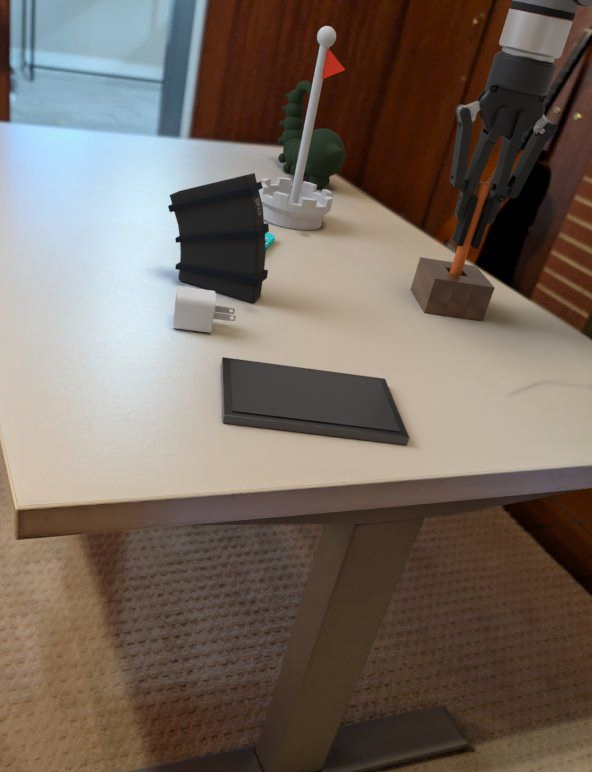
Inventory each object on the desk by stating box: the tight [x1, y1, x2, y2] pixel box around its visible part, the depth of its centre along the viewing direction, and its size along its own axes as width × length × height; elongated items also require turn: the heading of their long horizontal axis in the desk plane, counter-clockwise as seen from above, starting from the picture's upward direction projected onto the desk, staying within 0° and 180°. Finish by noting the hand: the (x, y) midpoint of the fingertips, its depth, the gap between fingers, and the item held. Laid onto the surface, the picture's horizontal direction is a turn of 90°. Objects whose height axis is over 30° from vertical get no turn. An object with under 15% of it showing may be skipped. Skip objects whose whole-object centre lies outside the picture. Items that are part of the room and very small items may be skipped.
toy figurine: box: [277, 80, 346, 189], centre depth 154 cm, size 9×19×25 cm
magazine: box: [167, 172, 270, 303], centre depth 96 cm, size 4×13×15 cm, turn 69°
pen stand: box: [410, 256, 495, 322], centre depth 107 cm, size 9×9×5 cm
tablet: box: [220, 356, 410, 446], centre depth 76 cm, size 18×12×1 cm, turn 93°
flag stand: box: [259, 25, 346, 231], centre depth 124 cm, size 13×13×30 cm
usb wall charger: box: [172, 285, 237, 334], centre depth 87 cm, size 4×7×4 cm, turn 94°
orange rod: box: [449, 180, 492, 276], centre depth 103 cm, size 2×2×14 cm
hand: (465, 243), depth 104 cm, fingers closed on orange rod, 1 cm apart
